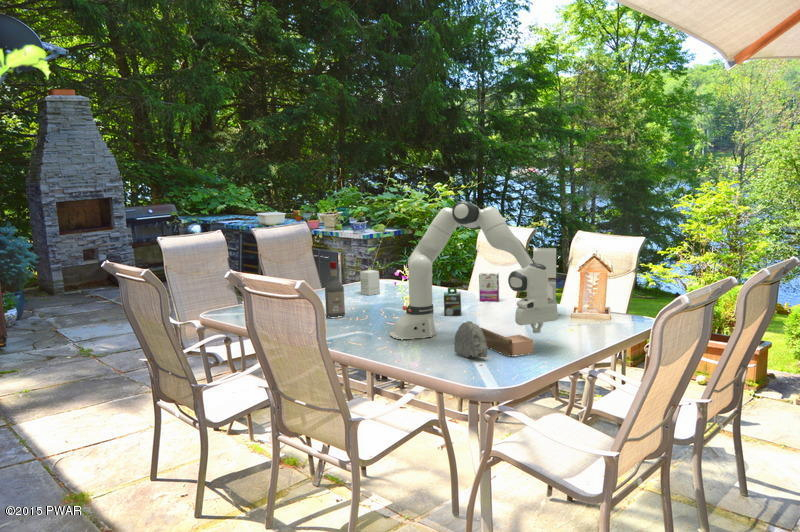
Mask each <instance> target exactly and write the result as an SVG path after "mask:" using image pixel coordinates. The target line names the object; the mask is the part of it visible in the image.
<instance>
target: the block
mask: <svg viewBox="0 0 800 532" xmlns="http://www.w3.org/2000/svg"><path fill="white" fill-rule="evenodd" d="M505 337H506V338H509V339H511V340H512V355H513V356H514V355H521V354H526V355H529V354H528V353H532V354H534V339H532V338H529V337H526V336H525V335H521V334H515V335H510V336H505ZM513 356H512V357H513ZM521 356H522V355H521Z"/></svg>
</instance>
